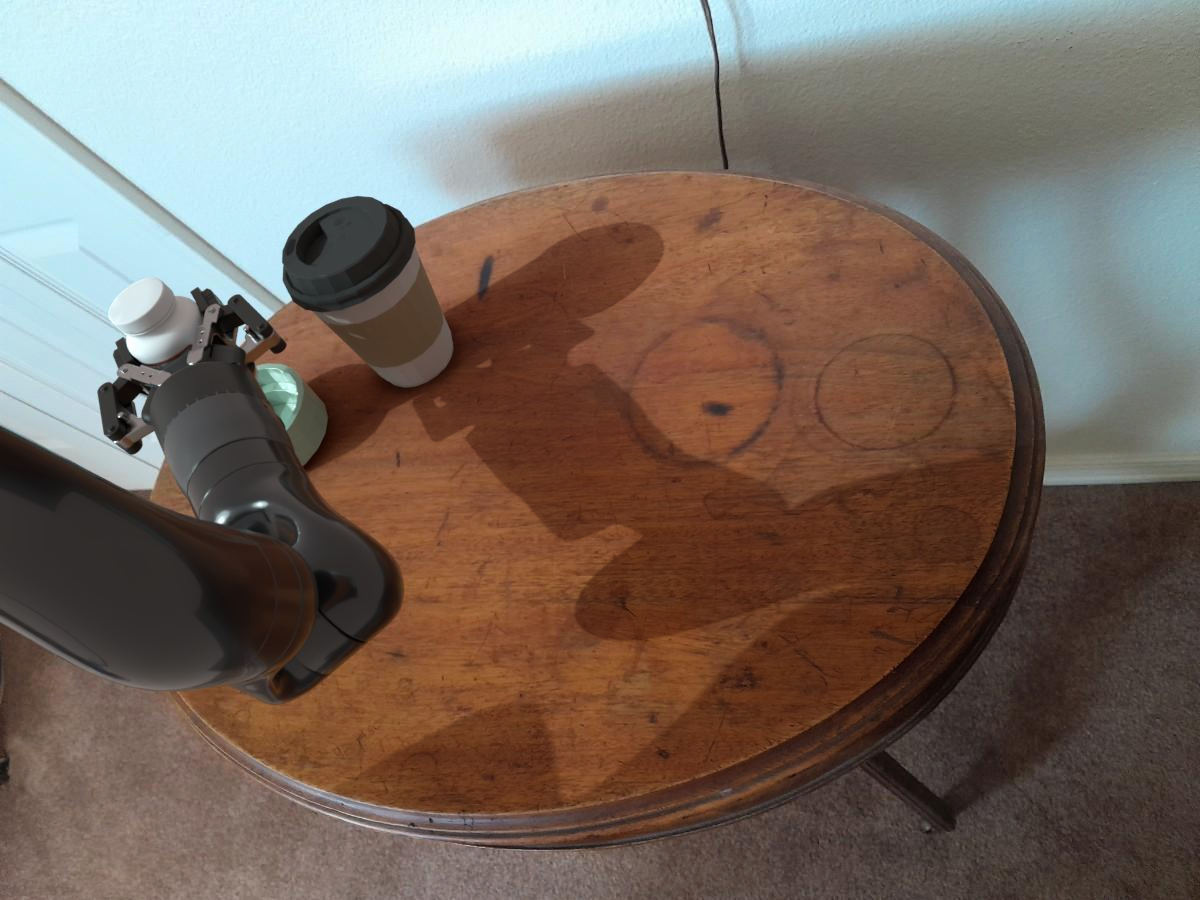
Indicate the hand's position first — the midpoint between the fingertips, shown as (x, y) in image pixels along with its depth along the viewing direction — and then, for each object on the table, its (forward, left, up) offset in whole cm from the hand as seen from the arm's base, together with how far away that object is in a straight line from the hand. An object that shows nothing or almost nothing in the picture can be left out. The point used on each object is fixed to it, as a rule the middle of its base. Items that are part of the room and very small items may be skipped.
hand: (164, 322), depth 68 cm
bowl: (-2, -2, -14) cm, 15 cm away
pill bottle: (-2, -2, -7) cm, 8 cm away
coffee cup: (+8, -13, -15) cm, 21 cm away
